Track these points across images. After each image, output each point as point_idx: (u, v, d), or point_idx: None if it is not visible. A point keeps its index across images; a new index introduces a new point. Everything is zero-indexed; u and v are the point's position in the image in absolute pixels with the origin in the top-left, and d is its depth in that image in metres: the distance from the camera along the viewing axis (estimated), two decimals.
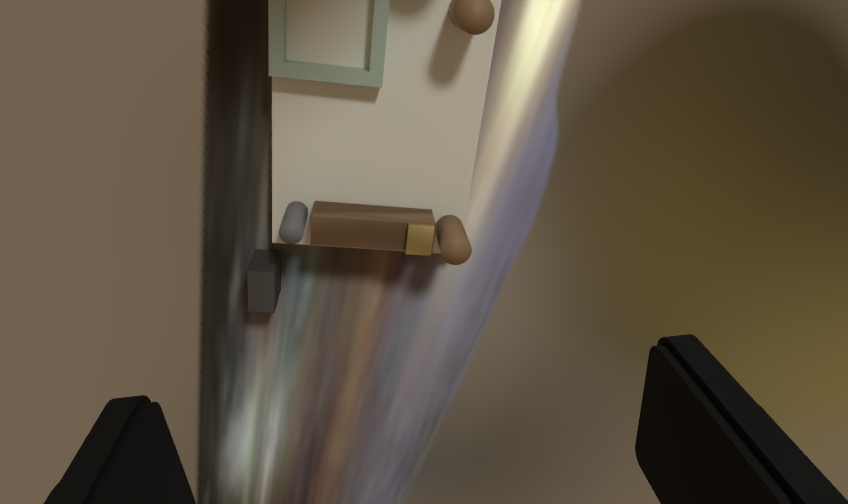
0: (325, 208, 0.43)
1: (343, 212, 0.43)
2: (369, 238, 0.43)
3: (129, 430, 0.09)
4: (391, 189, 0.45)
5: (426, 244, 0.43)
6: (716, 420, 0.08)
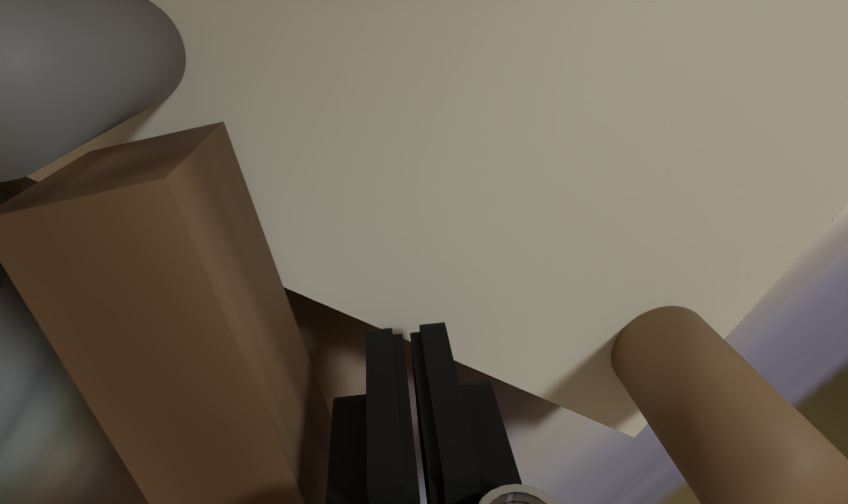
0: (222, 202, 0.09)
1: (248, 297, 0.09)
2: (185, 463, 0.09)
3: (397, 353, 0.10)
4: (566, 134, 0.11)
5: None
6: (422, 397, 0.09)
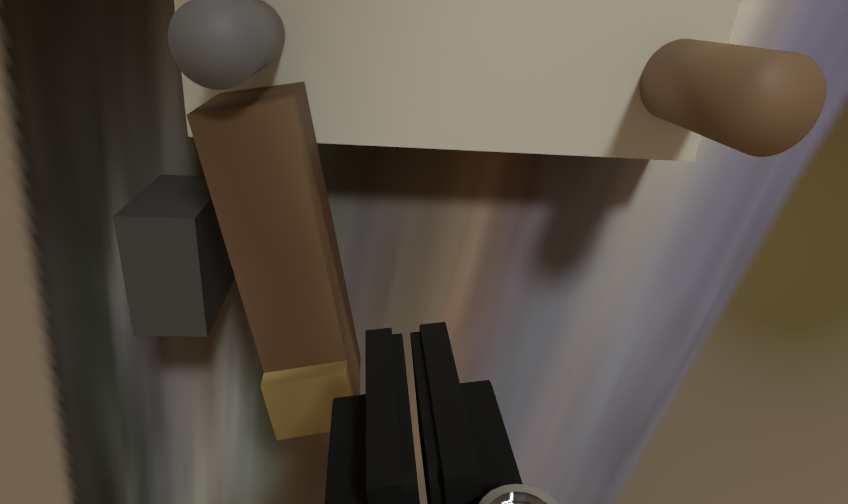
0: (305, 126, 0.15)
1: (315, 185, 0.15)
2: (270, 280, 0.15)
3: (396, 353, 0.10)
4: None
5: (305, 424, 0.16)
6: (422, 397, 0.09)
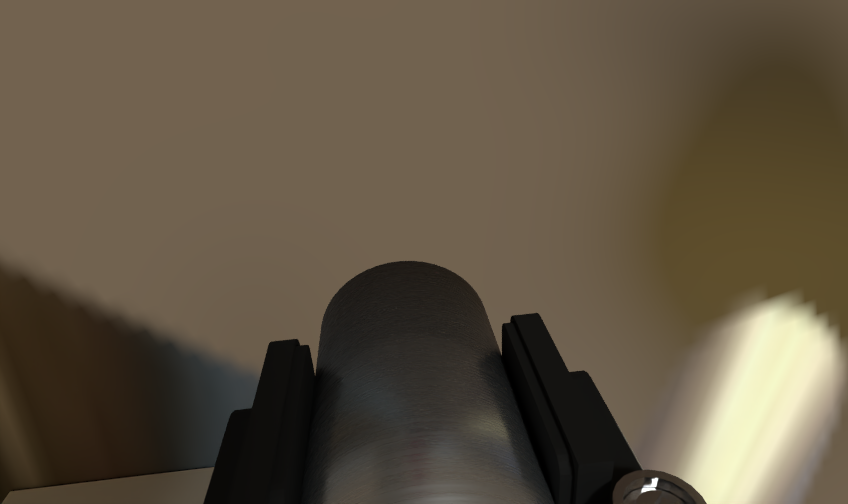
0: None
1: None
2: None
3: (295, 365, 0.10)
4: None
5: None
6: (532, 386, 0.09)
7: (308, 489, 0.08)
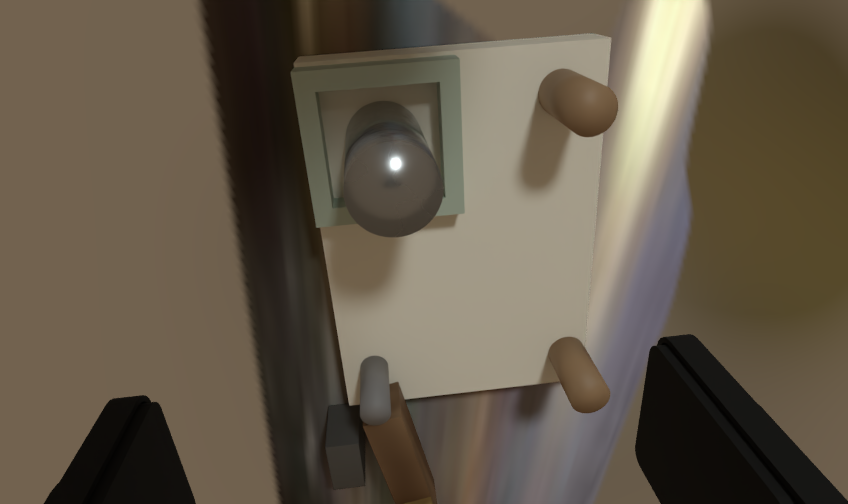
0: (403, 409, 0.35)
1: (410, 431, 0.35)
2: (396, 473, 0.35)
3: (129, 430, 0.09)
4: (488, 321, 0.35)
5: None
6: (716, 420, 0.08)
7: (349, 149, 0.24)
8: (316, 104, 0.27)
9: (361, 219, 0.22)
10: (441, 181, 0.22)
